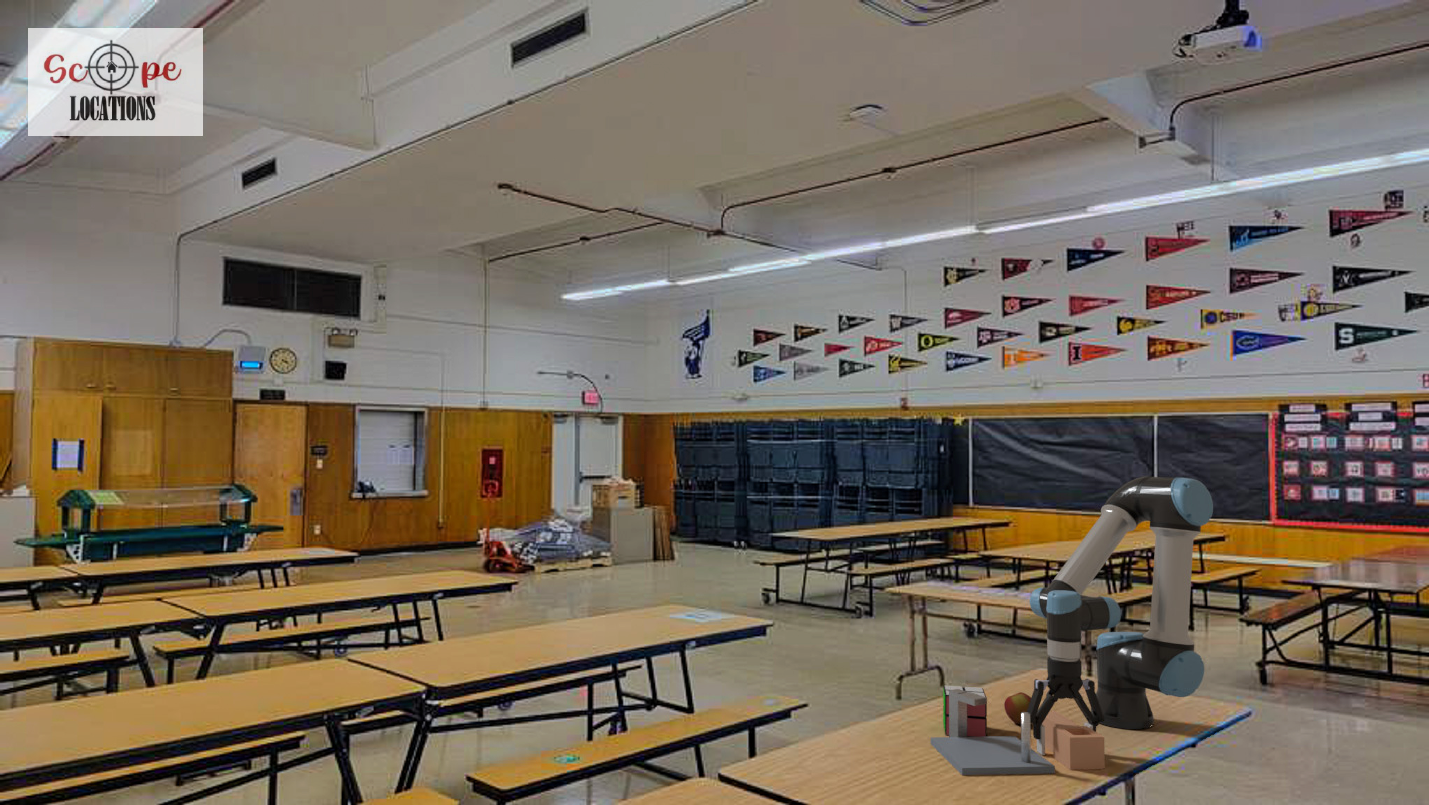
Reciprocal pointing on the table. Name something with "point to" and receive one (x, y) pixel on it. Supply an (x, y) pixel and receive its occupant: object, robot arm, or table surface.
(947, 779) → the table surface
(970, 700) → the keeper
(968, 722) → the puzzle cube
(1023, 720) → the peg
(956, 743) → the board
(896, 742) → the table surface
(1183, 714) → the table surface
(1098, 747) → the tan socket bar
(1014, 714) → the apple
